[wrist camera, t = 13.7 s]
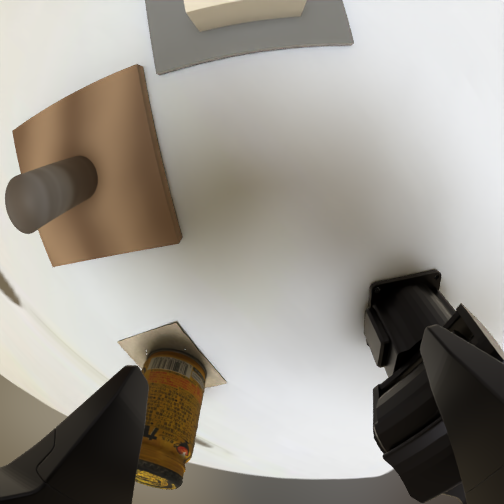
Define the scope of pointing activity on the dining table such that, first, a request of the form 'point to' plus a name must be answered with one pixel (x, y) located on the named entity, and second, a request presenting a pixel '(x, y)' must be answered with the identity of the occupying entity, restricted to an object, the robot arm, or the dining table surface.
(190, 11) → the tan cardboard carton
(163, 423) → the condiment
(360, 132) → the dining table surface
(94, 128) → the post base
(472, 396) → the robot arm
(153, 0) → the pad
